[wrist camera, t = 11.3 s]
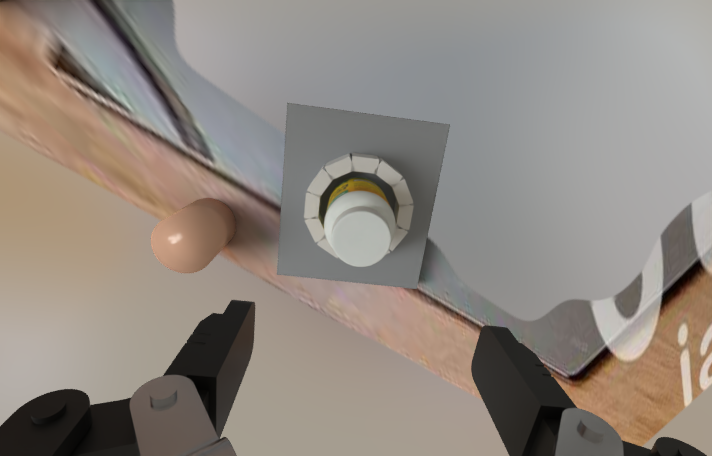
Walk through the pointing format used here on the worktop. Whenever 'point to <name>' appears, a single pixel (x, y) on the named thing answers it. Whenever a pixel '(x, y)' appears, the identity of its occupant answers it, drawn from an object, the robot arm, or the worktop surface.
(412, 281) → the collar board
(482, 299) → the worktop surface
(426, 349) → the worktop surface
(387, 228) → the supplement bottle
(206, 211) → the peach pill-shaped knob
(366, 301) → the worktop surface
